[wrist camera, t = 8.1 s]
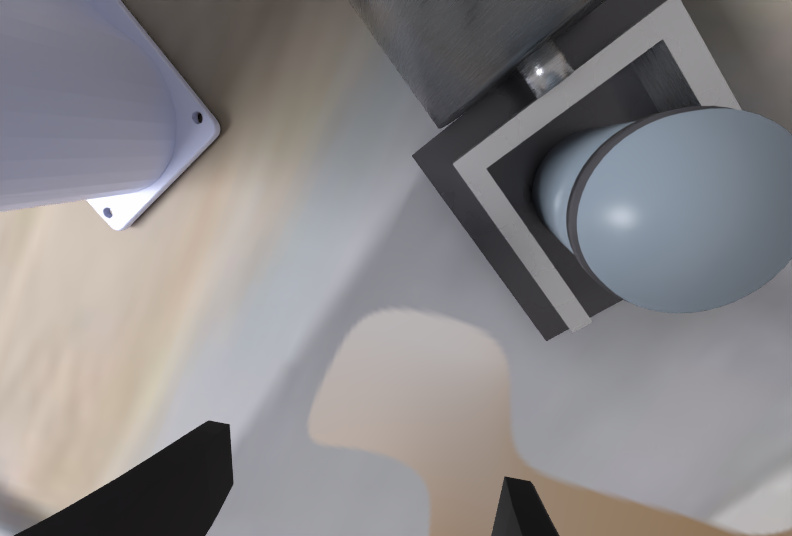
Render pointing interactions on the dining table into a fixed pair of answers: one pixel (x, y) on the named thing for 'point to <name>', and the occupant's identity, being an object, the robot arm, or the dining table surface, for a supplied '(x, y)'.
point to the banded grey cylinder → (673, 205)
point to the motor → (535, 113)
